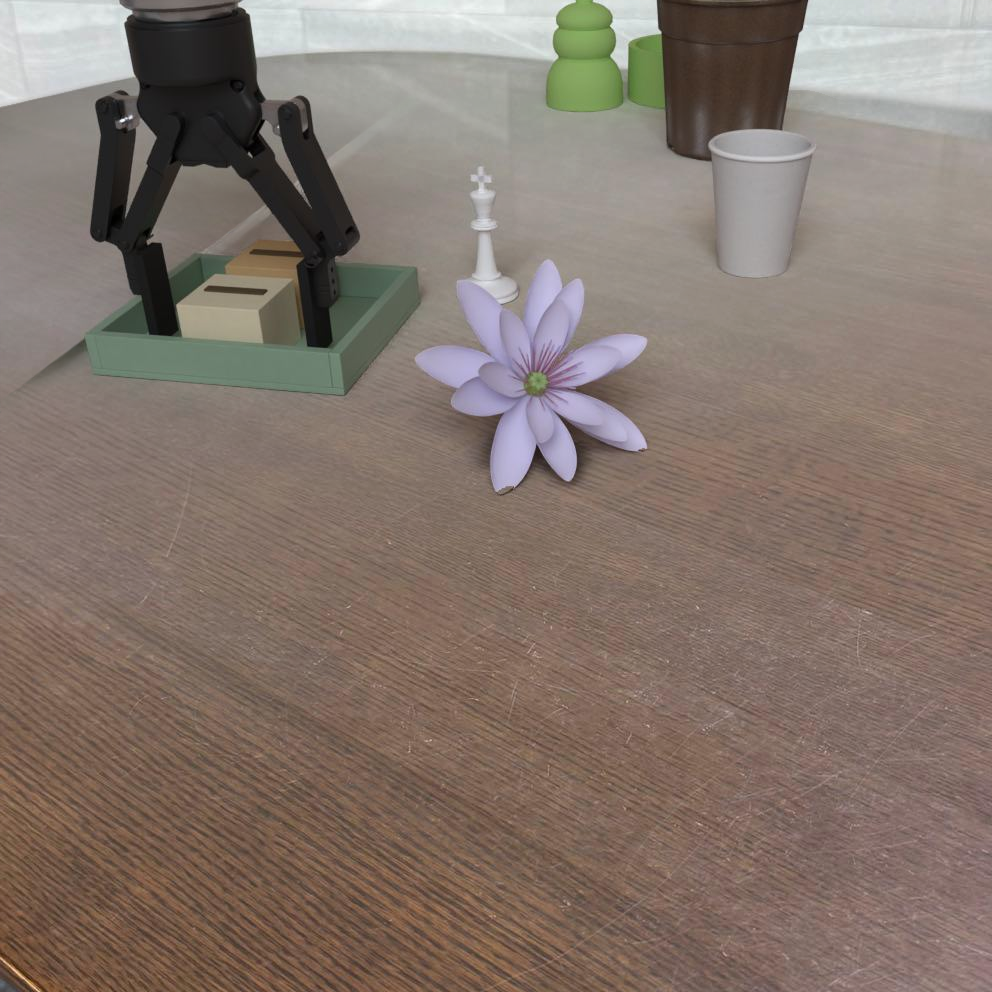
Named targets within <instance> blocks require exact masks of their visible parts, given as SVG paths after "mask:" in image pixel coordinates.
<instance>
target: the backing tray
mask: <svg viewBox="0 0 992 992" xmlns="http://www.w3.org/2000/svg"><path fill="white" fill-rule="evenodd" d="M237 256H238V255H230V254H214V253H213V254H212V253H200V252H199V253H197V252H194V253H193V254H191V255H190V256H189V257H187V258H186V259H185V260H184V261H182V262H181V263H179V264H178V265H176V266H175V267H174V268H173V269H171V270H170V271H167V273H168V278H169V283H170V288H171V293H172V298H173V303H174V308H175V313H176V318H177V323H178V328H179V330H178V331H177V332H176V333H175V334H174V335H172V336H159V335H149V331H148V326H147V322H146V317H145V312H144V307H143V303H142V298H141V295H135V296H133V298H132V299H130V300H129V301H128V302H126V303H125V304H124V305H122V306H120V307H119V308H117V309H116V310H115V311H114V312H112V313H111V314H110V315H109V316H107V317H106V318H105V319H103V320H102V321H100V322H99V323H97V324H96V325H95V326H94V327H92V328H91V329H89V330H88V331H86V333H84V334H83V336H84V340H85V344H86V348H87V352H88V356H89V361H90V365H91V368H92V374H93V375H96V376H97V375H98V376H110V377H121V378H132V379H145V380H157V381H168V382H181V383H190V384H191V383H194V384H202V385H203V384H204V385H215V386H216V385H217V386H228V387H240V388H253V389H263V390H276V391H287V392H296V393H297V392H298V393H299V392H300V393H309V394H310V393H312V394H320V395H321V394H322V395H335V396H345V395H346V394H347V393H348V392H349V391H350V390H351V388H352V387H353V386H354V384H355V383H356V382H357V381H358V380H359V378H361V376H362V375H363V374H364V373H365V371H366V370H367V369H368V368H369V366H370V365H372V363H373V362H374V360H375V359H377V357H378V355H379V354H380V353H381V352H382V351H383V350H384V349H385V347H386V346H387V344H389V342H390V341H391V340H392V338H393V337H394V336H395V335H396V334H397V333H398V331H399V330H400V329H401V327H402V326H403V325H404V324H405V323H406V321H407V320H408V319H409V318H410V317H411V315H412V314H413V313H414V311H415V310H416V309H417V308H418V307H419V306H420V304H421V297H420V285H419V275H418V274H419V273H418V266H411V265H408V266H407V265H393V264H379V263H377V264H376V263H361V262H346V261H345V262H344V261H343V262H342V261H335V264H336V272H337V281H338V289H339V295H338V300H337V301H336V302H335V303H334V304H333V305H332V306H331V307H330V308H329V313H330V321H331V329H332V337H333V342H332V343H331V344H330V345H329V346H328V347H327V348H316V347H307V341H306V334H305V329H302V328H300V333H301V338H300V340H299V341H298V342H297V343H296V344H295V345H294V346H290V345H277V344H264V343H251V342H238V341H225V340H212V339H198V338H185V337H182V333H181V328H180V323H179V317H178V312H177V307H176V304H178V303H179V302H180V301H182V300H183V299H184V298H185V297H187V296H188V295H189V294H190V293H192V292H193V291H194V290H195V289H197V288H198V287H199V286H201V285H202V284H203V283H204V282H206V281H207V280H208V279H209V278H211V277H212V276H213V275H214V274H225V275H226V270H225V265H227V264H228V263H229V262H230V261H232V260H233V259H234V258H235V257H237Z"/></svg>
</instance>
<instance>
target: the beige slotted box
mask: <svg viewBox="0 0 992 992" xmlns="http://www.w3.org/2000/svg"><path fill="white" fill-rule="evenodd" d="M176 307H177V312H178V317H179V323H180V328H181V333H182V337H185V338H198V339H212V340H225V341H238V342H251V343H264V344H277V345H290V346H294V345H295V344H296V343H297V342H298V341H299V340H300V338H301V333H300V326H299V318H298V311H297V304H296V297H295V289H294V282H293V279H287V278H271V277H256V276H241V275H225V274H214V275H213V276H212V277H211V278H209V279H208V280H207V281H206V282H204V283H203V284H202V285H201V286H199V287H198V288H197V289H195V290H194V291H193V292H192V293H190V294H189V295H188V296H187V297H185V298H184V299H183V300H182V301H180V302H179V303H178V304H176Z"/></svg>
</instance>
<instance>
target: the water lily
mask: <svg viewBox="0 0 992 992" xmlns="http://www.w3.org/2000/svg"><path fill="white" fill-rule="evenodd" d="M583 283H584V282H583V281H582V279H581V278H574V279H573V280H571V281H570V282H568V283H567V284H566V285H565V286H563V283H562V278H561V276H560V273H559V270H558V268H557V267H556V265H555V263H554V261H552V260H551V259H550V258H548V259H546V260H544V261H543V262H542V263H541V264H540V265H539V266H538V268H537V269H536V271H535V273H534V275H533V276H532V279H531V281H530V284H529V287H528V290H527V294H526V299H525V303H524V304H525V305H524V311H523V320H522V319H521V318H520V317H519V316H518V315H517V314H516V313H515V312H513V311H512V310H509V309H508V308H504V307H503V305H502V304H500V303H499V302H498V301H497V300H496V299H495V298H494V297H493V296H492V295H491V294H490V293H489V292H488V291H486V290H485V289H484V288H482V287H480V286H479V285H477V284H475V283H473V282H470V281H466V280H464V279H458V280H457V281H456V285H455V286H456V293H457V295H458V298H457V300H458V302H459V305H460V308H461V310H462V313H463V315H464V317H465V320H466V321H467V323H468V325H469V327H470V329H471V330H472V332H473V333H474V334H475V336H476V338H477V339H478V341H479V343H481V345H482V346H483V347H484V348H485V350H486V351H487V352H488V353H489V354H490V355H489V354H488V353H486V352H483V351H481V350H479V349H474V348H470V347H466V346H460V345H453V344H451V345H450V344H449V345H447V344H445V345H437V346H432V347H430V348H426V349H424V350H423V351H421V352H419V353H418V354H417V355H416V356H415V357H414V361H415V363H416V365H417V366H418V367H419V368H420V369H421V371H423V372H425V373H426V374H427V375H429V376H430V377H431V378H433V379H434V380H436V381H438V382H440V383H442V384H444V385H446V386H449V387H451V388H454V389H456V390H455V391H454V393H453V395H452V397H451V400H450V406H451V407H452V408H453V409H455V410H457V411H458V412H460V413H463V414H465V415H469V416H473V417H491V416H497V415H500V414H502V415H501V417H500V420H499V422H498V424H497V426H496V431H495V433H494V437H493V441H492V446H491V451H490V459H489V468H490V469H489V471H490V477H491V483H492V486H493V488H494V491H495V493H496V492H498V491H499V490H501V489H502V488H505V487H506V486H514V488H516V487H517V486H518V485H519V484H520V483H521V482H522V480H523V479H524V477H525V475H527V473H528V471H529V469H530V466H531V465H532V461H533V458H534V455H535V451H536V449H537V446H538V449H539V450H540V453H541V454H542V457H543V458H544V459H545V461H546V463H548V465H549V466H550V467H551V469H552V470H553V471H554V472H555V473H556V474H557V475H558V476H559V477H560V478H561V479H562V480H563V481H565V482H571V481H572V480H573V478H574V476H575V474H576V470H577V465H578V464H577V463H578V456H577V450H576V446H575V443H574V440H573V438H572V435H571V433H570V431H569V430H568V428H567V426H566V425H565V423H564V422H563V421H562V419H561V418H560V416H561V417H562V418H564V419H565V420H566V421H567V422H568V423H570V424H571V425H573V426H574V427H575V428H577V429H578V430H580V431H582V432H583V433H585V434H586V435H588V436H590V437H592V438H594V439H596V440H598V441H600V442H602V443H604V444H607V445H610V446H611V447H615V448H618V449H621V450H625V451H631V452H639V451H638V450H639V449H642V448H645V449H647V450H648V444H647V441H646V438H645V437H644V435H643V433H642V432H641V430H640V429H639V428H638V427H637V426H636V424H635V423H634V422H633V421H632V420H631V419H630V418H628V417H627V415H625V414H623V413H622V412H621V411H619V410H618V409H617V408H615V407H613V406H611V405H610V404H608V403H606V402H604V401H602V400H600V399H598V398H595V397H593V396H591V395H587V394H584V393H582V392H579V391H574V390H577V387H579V386H583V385H585V384H588V383H591V382H595V381H597V380H600V379H602V378H603V379H604V377H607V376H610V375H612V374H613V373H616V372H618V371H619V370H621V369H623V368H625V367H627V366H628V365H629V364H631V363H632V362H634V361H635V360H636V359H638V357H639V356H640V355H641V354H642V353H643V352H644V350H645V348H646V347H647V345H648V339H647V338H646V337H645V336H642V335H638V334H634V333H620V334H619V333H618V334H612V335H608V336H604V337H601V338H599V339H596V340H594V341H592V342H588V343H587V344H585V345H583V346H581V347H579V348H577V349H576V350H575V349H574V348H573V349H571V350H570V351H569V352H567V354H566V355H565V356H563V358H562V359H561V360H559V361H558V362H557V363H556V361H557V360H558V359H559V358H560V357H561V355H562V354H563V353H564V351H565V350H566V349H567V347H568V346H569V343H570V342H571V340H572V338H573V336H574V334H575V332H576V329H577V327H578V325H579V323H580V319H581V316H582V313H583V309H584V303H585V287H584V284H583ZM555 363H556V364H555ZM553 365H554V366H553ZM552 366H553V367H552Z"/></svg>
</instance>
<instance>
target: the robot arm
mask: <svg viewBox="0 0 992 992" xmlns="http://www.w3.org/2000/svg"><path fill="white" fill-rule="evenodd" d="M118 1H119V4H120V5H121V6H122V7H123V8H124V9H126V10H129V11H131V14H130V15H128V16H127V17H126V21H124V22H123V26H124V30H125V36H126V41H127V47H128V51H129V56H130V63H131V67H132V72H133V75H134V77H135V78H136V79H137V81H138V85H139V91H138V95H130V94H129V93H128V92H127V91H125V90H123V89H119V90H116V91H114V92H111V93H109V94H107V95H105V96H102V97H100V98H98V99H97V100H96V101H95V103H94V109H95V114H96V119H97V124H98V129H99V134H100V138H99V146H98V155H97V163H96V164H97V165H96V173H95V182H94V190H93V192H94V193H93V200H92V209H91V217H90V226H89V235H90V236H91V239H93V241H95V242H97V243H104V242H106V243H109V244H111V245H114V246H115V247H116V248H117V249H118V250H119V251H120V253H121V255H122V259H123V262H124V263H123V264H124V269H125V273H126V277H127V282H128V286H129V289H130V291H131V293H132V295H134V296H137V295H141V298H142V303H143V307H144V312H145V317H146V322H147V326H148V331H149V335H159V336H172V335H174V334H175V333H176V332H177V331H178V330H179V328H178V323H177V318H176V313H175V308H174V303H173V298H172V293H171V288H170V283H169V278H168V268H167V262H166V259H165V252H164V248H163V243H162V242H155V241H154V242H153V241H152V242H150V243H149V244H148V241H149V240H150V239H151V238H153V237H154V236H155V234H154V233H153V230H154V228H155V226H156V224H157V222H158V219H159V217H160V214H161V212H162V210H163V207H164V206H165V203H166V201H167V198H168V196H169V194H170V192H171V190H172V187H173V185H174V182H175V181H176V179H177V176H178V174H179V172H180V169H181V168H182V167H188V168H189V167H190V168H191V167H192V168H194V167H198V166H202V165H206V166H209V167H213V168H216V169H228V168H230V167H232V169H233V171H234V172H235V173H236V175H238V177H239V178H240V179H242V180H245V181H246V182H247V183H249V185H250V186H251V187H252V189H253V190H254V191H255V192H256V194H257V195H258V196H259V198H260V200H262V202H263V204H265V206H266V207H267V209H268V210H269V211H270V212H271V214H272V215H273V216H274V218H275V219H276V221H277V222H278V223H279V224H280V226H281V227H282V228H283V229H284V231H285V232H286V234H287V235H288V236H289V238H290V239H291V241H294V243H295V244H296V245H297V247H298V248H299V249H300V251H301V252H302V253H303V255H304V256H305V258H304V259H303V260H301V261H300V262H299V263H298V264H297V265H296V268H297V276H298V283H299V290H300V298H301V305H302V312H303V320H304V327H305V334H306V341H307V347H316V348H327V347H328V346H329V345H330V344H331V343H332V342H333V337H332V329H331V321H330V313H329V308H330V307H331V306H332V305H333V304H334V303H335V302H336V301H337V299H338V295H339V289H338V281H337V272H336V264H335V262H336V257H344V256H345V255H347V254H348V253H349V252H350V251H351V250H352V249H353V248H354V247H356V245H358V243H359V242H360V241H361V233H360V231H359V228H358V227H357V226H358V225H357V224H356V222H355V220H354V217H353V215H352V213H351V211H350V209H349V207H348V204H347V202H346V200H345V198H344V196H343V193H342V191H341V189H340V186H339V185H338V182H337V179H336V178H335V176H334V174H333V171H332V169H331V167H330V165H329V163H328V160H327V158H326V156H325V154H324V151H323V149H322V147H321V145H320V142H319V141H318V138H317V136H316V134H315V129H314V124H313V116H312V115H313V114H312V105H311V103H310V100H308V98H307V97H305V96H304V95H301V94H300V95H296V96H295V97H292V98H291V99H289V100H287V99H286V100H285V99H284V100H283V99H267V98H266V97H265V95H264V94H263V92H262V90H261V88H260V86H259V83H258V62H257V56H256V49H255V42H254V41H255V40H254V34H253V28H252V20H251V15H250V14H249V13H248V12H247V10H246V9H245V8H243V7H240V6H239V3H241V2H243V0H118ZM141 120H142V121H143V123H145V126H147V127H148V129H149V130H150V131H151V132H152V133H153V135H154V136H155V137H156V139H155V141H154V143H153V146H152V148H151V150H150V152H149V155H148V157H147V160H146V162H145V165H147V166H146V169H145V171H144V173H143V175H142V178H141V180H140V183H139V185H138V187H137V190H136V192H135V195H134V197H133V198H132V201H131V204H130V206H129V209H128V208H127V207H128V200H129V192H130V186H131V185H130V184H131V176H132V168H133V161H134V154H135V147H136V146H135V145H136V140H137V139H136V137H137V128H138V127H139V125H140V121H141ZM266 122H268V123H269V124H270V125H271V127H272V132H273V134H274V135H275V136H278V137H280V138H281V144H282V147H283V150H284V152H285V154H286V157H287V159H288V162H289V163H290V166H291V167H292V170H293V172H294V174H295V176H296V178H297V180H298V183H299V185H300V187H301V189H302V191H303V193H304V196H305V198H306V199H305V198H304V196H303V195H302V194H301V193H300V191H299V190H298V188H297V187H296V186H295V184H294V183H293V181H291V179H290V178H289V176H288V175H287V174H286V172H285V171H284V170H283V168H282V167H281V166H280V165H279V163H278V162H277V160H276V154H275V151H274V150H273V149H272V147H271V145H269V143H268V142H267V141H266V139H265V138H264V137H263V135H262V134H261V133H260V132H261V130H262V128H263V126H264V124H265V123H266ZM249 154H250V155H251V156H250V155H249ZM306 200H307V201H308V202H307V201H306ZM127 209H128V211H127Z"/></svg>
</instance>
